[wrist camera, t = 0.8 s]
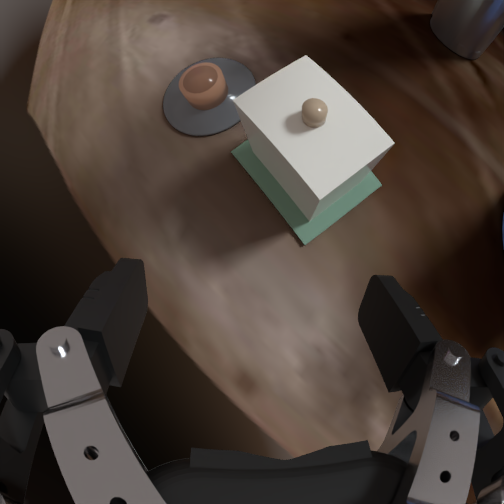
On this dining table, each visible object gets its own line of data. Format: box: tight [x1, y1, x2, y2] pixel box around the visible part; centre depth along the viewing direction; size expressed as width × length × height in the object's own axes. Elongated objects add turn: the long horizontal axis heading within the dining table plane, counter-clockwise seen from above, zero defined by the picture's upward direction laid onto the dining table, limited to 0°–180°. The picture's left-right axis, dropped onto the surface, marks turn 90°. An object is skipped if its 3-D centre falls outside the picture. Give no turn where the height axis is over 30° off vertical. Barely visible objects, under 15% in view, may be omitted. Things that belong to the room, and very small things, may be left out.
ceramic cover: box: [233, 55, 394, 222], centre depth 22 cm, size 9×7×12 cm
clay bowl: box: [179, 62, 228, 110], centre depth 27 cm, size 5×5×3 cm
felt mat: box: [231, 140, 382, 245], centre depth 28 cm, size 12×10×1 cm
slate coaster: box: [163, 58, 256, 136], centre depth 29 cm, size 11×11×1 cm
